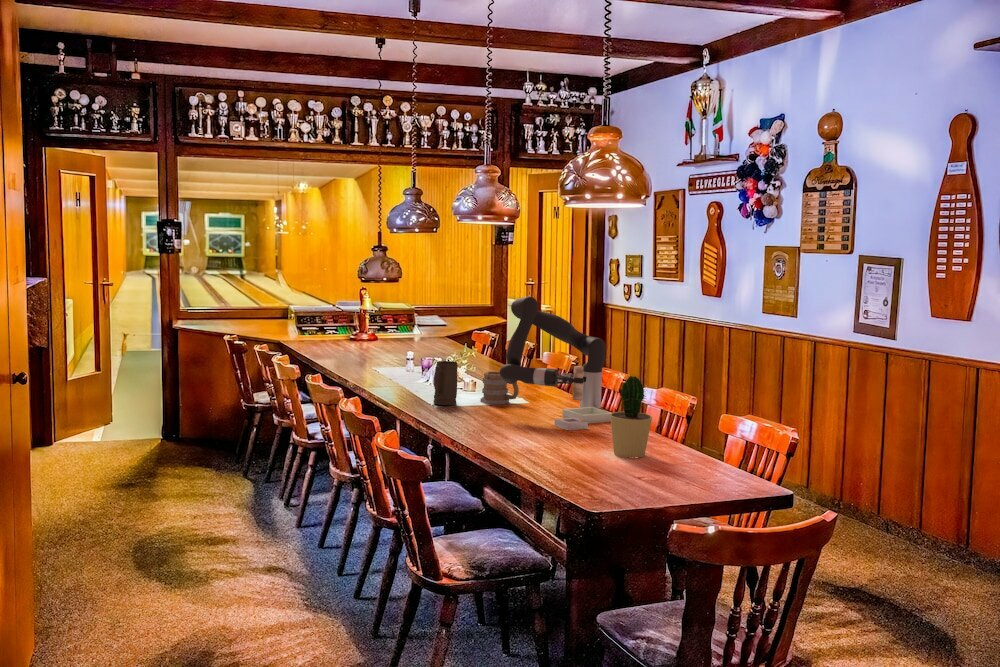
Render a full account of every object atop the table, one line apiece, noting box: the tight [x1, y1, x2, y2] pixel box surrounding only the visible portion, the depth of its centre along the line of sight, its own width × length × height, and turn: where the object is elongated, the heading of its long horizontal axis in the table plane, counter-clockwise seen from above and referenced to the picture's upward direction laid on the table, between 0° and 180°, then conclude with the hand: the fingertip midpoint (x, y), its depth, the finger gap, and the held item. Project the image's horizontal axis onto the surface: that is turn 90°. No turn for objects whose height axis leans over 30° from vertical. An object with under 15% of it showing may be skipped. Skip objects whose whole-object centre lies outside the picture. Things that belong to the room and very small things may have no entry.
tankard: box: [480, 370, 520, 405], centre depth 442 cm, size 20×13×15 cm, turn 73°
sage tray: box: [562, 407, 612, 424], centre depth 409 cm, size 16×16×4 cm
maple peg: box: [572, 365, 583, 401], centre depth 394 cm, size 4×4×14 cm
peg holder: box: [554, 417, 589, 431], centre depth 391 cm, size 10×10×3 cm
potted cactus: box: [610, 374, 653, 459], centre depth 344 cm, size 15×15×30 cm
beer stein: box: [432, 360, 459, 406], centre depth 431 cm, size 15×11×20 cm
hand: (584, 380), depth 393 cm, fingers closed on maple peg, 4 cm apart
